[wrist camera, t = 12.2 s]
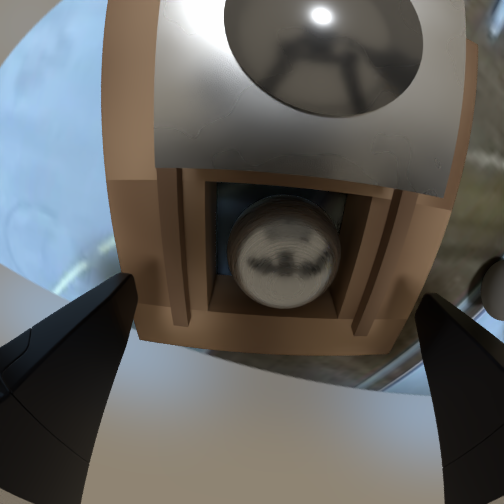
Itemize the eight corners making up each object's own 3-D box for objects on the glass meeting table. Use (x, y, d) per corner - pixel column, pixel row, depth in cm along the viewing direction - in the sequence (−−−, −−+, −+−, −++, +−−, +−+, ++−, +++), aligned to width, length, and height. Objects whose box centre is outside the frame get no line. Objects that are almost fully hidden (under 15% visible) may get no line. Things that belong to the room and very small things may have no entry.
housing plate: (441, 48, 7) (488, 44, 4) (375, 319, 14) (391, 363, 12) (138, 12, 7) (99, -8, 4) (154, 305, 14) (135, 349, 12)
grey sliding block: (406, -10, 5) (462, -38, 2) (392, 162, 8) (446, 201, 5) (204, -40, 5) (175, -91, 2) (191, 141, 8) (152, 170, 5)
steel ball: (319, 269, 13) (336, 334, 9) (230, 263, 13) (220, 329, 9) (336, 185, 11) (369, 232, 7) (233, 176, 11) (220, 220, 7)
